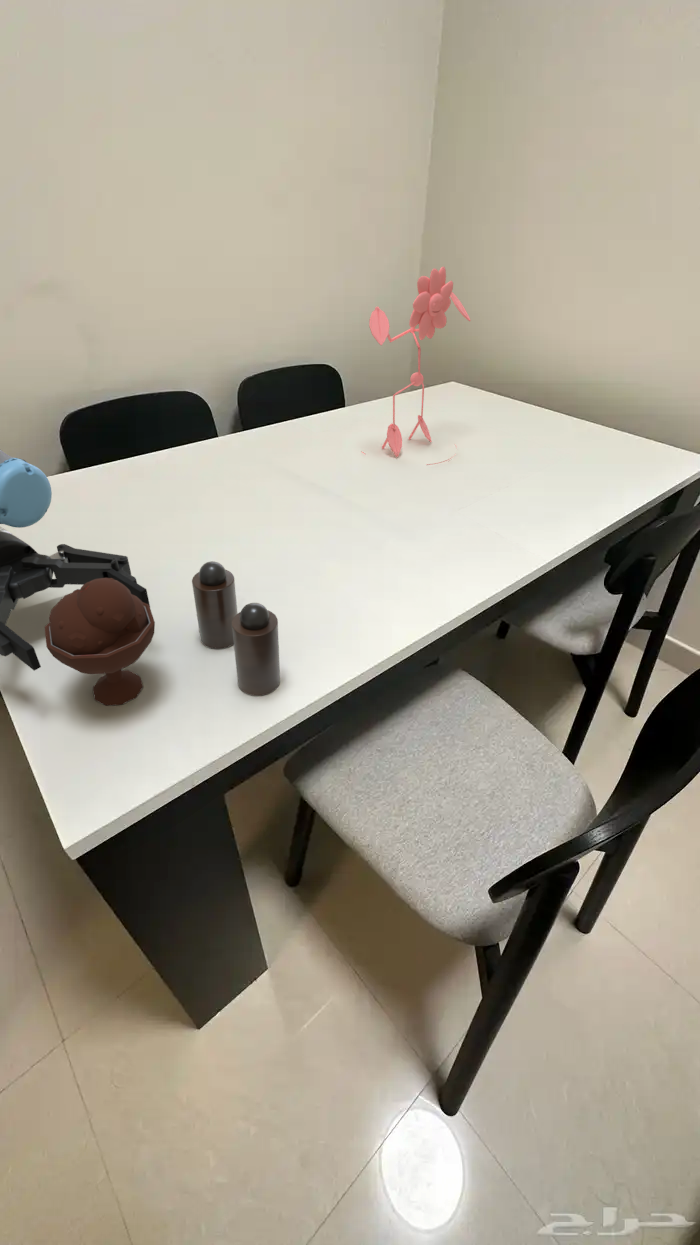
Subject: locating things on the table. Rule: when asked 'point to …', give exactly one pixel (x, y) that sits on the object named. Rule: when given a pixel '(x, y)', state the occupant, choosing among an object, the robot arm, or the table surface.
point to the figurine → (428, 316)
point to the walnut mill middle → (215, 604)
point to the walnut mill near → (256, 649)
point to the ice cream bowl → (102, 636)
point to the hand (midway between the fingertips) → (93, 627)
